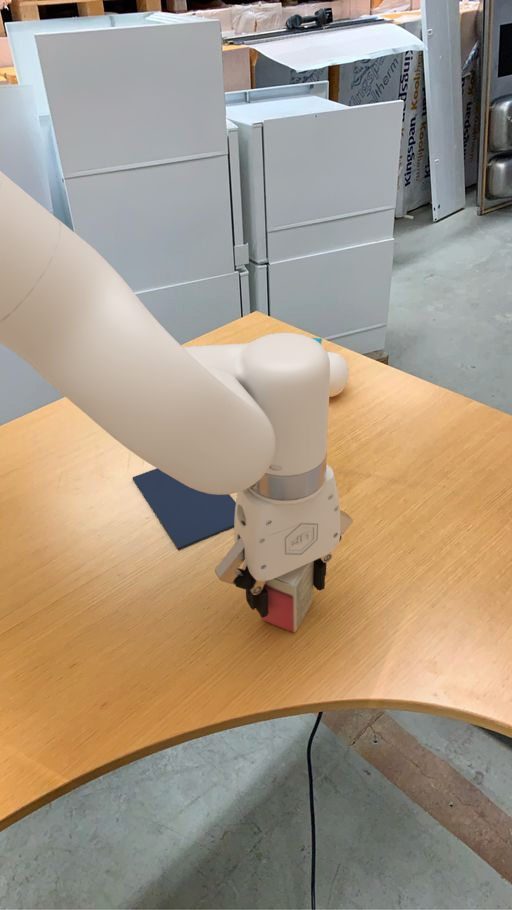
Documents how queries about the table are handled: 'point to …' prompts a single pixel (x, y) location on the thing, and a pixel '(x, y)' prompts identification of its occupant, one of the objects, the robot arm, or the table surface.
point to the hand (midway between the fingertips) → (286, 593)
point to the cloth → (185, 508)
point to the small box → (290, 597)
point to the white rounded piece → (336, 372)
